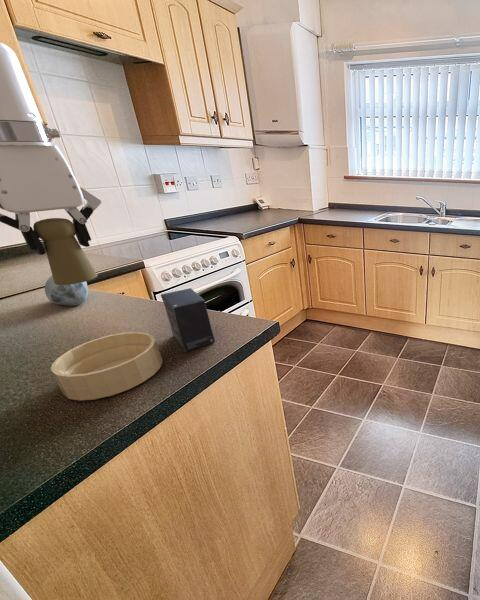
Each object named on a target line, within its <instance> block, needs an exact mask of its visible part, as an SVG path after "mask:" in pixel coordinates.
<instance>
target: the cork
mask: <svg viewBox="0 0 480 600" xmlns="http://www.w3.org/2000/svg"><path fill="white" fill-rule="evenodd" d="M32 229H33V230H34V231H36V232H37V234H38V237H39V239H40V240H42V241H43V245H44V250H45V252H46V253H45V254H46V256H47V260H48V264H49V269H50V272H51V276H53V280H54V283H55V284H56V285H70V284H77V283H82V282H85V281H86V282H89V281H92V280H95V279H96V278H97V277H98V273H97V272H96V270H95V268H94V267H93V265H92V263H91V261H90V260H89V258H88V256H87V254H85V252H84V250H83V249H82V247H81V245H80V244H79V242H78V239H77V237H76V228H75V226H74V224H73V221H71V220H70V219H68V218H64V217H49V218H44V219H41V220H37V221H35V222H34V223H33V226H32Z"/></svg>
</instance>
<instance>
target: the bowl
mask: <svg viewBox="0 0 480 600" xmlns="http://www.w3.org/2000/svg"><path fill="white" fill-rule="evenodd" d="M162 365H163V358H162V355H161V352H160V350H159V346H158V343H157V341H156V339H155V337H154V335H153V334H151V333H148V332H145V331H144V332H142V331H128V332H127V331H126V332H125V331H124V332H120V333H114V334H108V335H105V336H101V337H98V338H95V339H92V340H89V341H86V342H83V343H81V344H79V345H77V346H75V347H73V348H71V349H68V350H67V351H66V352H64V353H62V354H61V355H59V356H58V357H57V358H56V359H55V360H54V361H53V362H52V364H51V366H50V367H51V368H50V372H51V374H52V376H53V378H54V379H55V381H56V383H57V385H58V387H59V389H60V391H61V393H62V395H64V396H65V398H67V399H68V400H74V401H93V400H94V401H95V400H99V399H102V398H107V397H112V396H115V395H118V394H120V393H123V392H126V391H128V390H131V389H132V388H134V387H136V386H138V385H140V384H142V383H144V382H146V381H147V380H148V379H150V378H151V377H153V376H154V375H156V373H157V372H158V371H159V370H160V368H161V367H162Z"/></svg>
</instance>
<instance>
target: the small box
mask: <svg viewBox="0 0 480 600" xmlns="http://www.w3.org/2000/svg"><path fill="white" fill-rule="evenodd" d="M160 297H161V300H162V302H163V305H164V308H165V312H166V315H167V319H168V321H169V325H170V329H171V333H172V336H173V337H174V339H175V340H176V342H177V343H178V345H179V346H180V347H181V349H182V350H183V352H184V353H186V352H189V351H192V350H196V349H198V348H201V347H204V346H207V345H210V344H213V343H215V342H216V341H215V336H214V332H213V329H212V324H211V321H210V316H209V312H208V308H207V305H206V301H205V299H204V298H203V297H202V296H201V295H200V294H198V293H197V292H196V291H195V290H194V289H192V288H191V287H189V288H184V289H180V290H175V291H170V292H165V293H161V294H160Z"/></svg>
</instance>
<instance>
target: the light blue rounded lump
mask: <svg viewBox="0 0 480 600" xmlns="http://www.w3.org/2000/svg"><path fill="white" fill-rule="evenodd" d="M87 282H88V281H85V282H82V283H77V284H70V285H56V284H55V283H54V280H53V276H52V275H50V277H49V278H47V279H46V282H45V285H44V293H45V297H46V298H47V299H48V301H49V302H52V303H53V304H57V305H60V306H68V307H70V306H73V307H74V306H80V305H83V303H85V302H86V300H87V299H88V296H89V295H88V294H89V288H88V287H89V286H88V283H87Z"/></svg>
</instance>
